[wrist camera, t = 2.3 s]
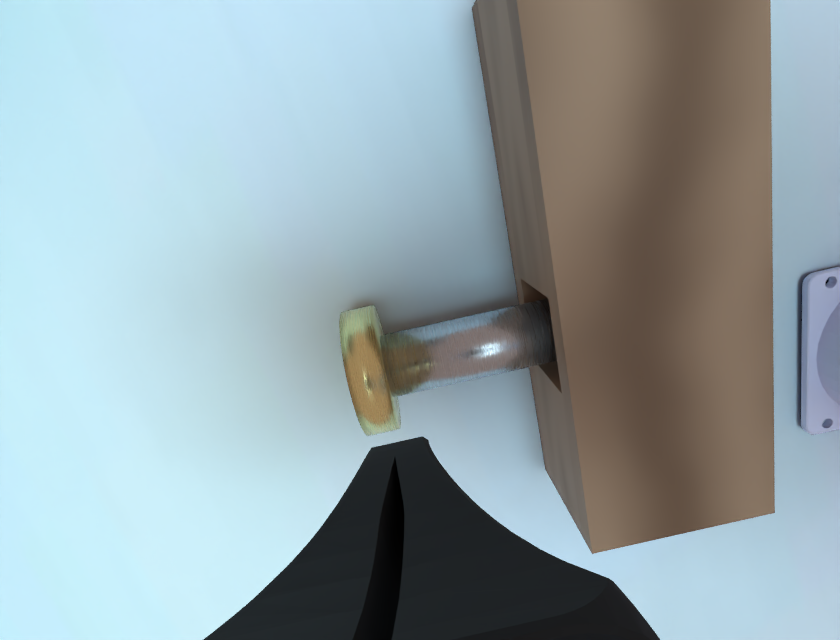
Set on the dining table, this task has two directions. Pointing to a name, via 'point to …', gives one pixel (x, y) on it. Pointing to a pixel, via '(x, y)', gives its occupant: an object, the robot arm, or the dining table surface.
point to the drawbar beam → (642, 250)
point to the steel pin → (436, 355)
